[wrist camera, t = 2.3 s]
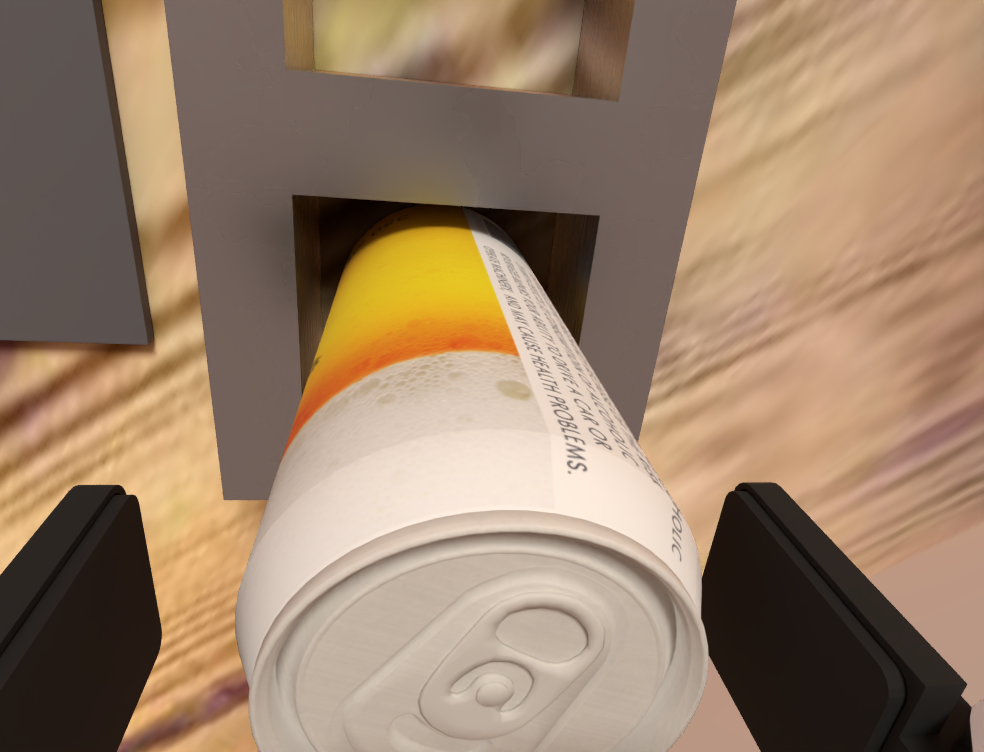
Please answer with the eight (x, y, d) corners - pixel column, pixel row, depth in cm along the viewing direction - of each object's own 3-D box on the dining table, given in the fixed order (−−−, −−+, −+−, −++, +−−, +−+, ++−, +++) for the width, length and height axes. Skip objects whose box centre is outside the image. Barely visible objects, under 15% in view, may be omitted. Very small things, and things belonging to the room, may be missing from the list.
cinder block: (188, -397, 13) (91, -602, 9) (718, -292, 15) (832, -425, 11) (257, 421, 22) (223, 499, 18) (588, 426, 24) (625, 499, 20)
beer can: (307, 317, 20) (113, 789, 7) (408, 157, 19) (408, 381, 5) (459, 403, 22) (533, 894, 9) (563, 268, 21) (846, 630, 7)
